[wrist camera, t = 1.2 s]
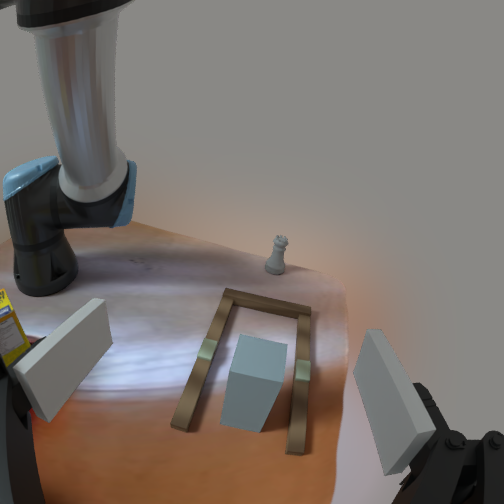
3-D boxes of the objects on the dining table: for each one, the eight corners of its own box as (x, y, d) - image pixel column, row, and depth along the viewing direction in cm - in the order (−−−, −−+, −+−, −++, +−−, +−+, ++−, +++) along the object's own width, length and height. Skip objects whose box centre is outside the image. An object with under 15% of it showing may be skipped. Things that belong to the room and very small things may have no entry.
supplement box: (27, 341, 32) (4, 286, 27) (41, 365, 29) (14, 309, 24) (1, 357, 27) (-27, 303, 22) (13, 382, 25) (-20, 328, 20)
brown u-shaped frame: (301, 455, 27) (305, 451, 26) (170, 427, 28) (169, 421, 27) (308, 314, 51) (311, 306, 50) (224, 295, 52) (225, 287, 51)
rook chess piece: (260, 266, 63) (267, 234, 59) (275, 262, 66) (283, 232, 62) (272, 277, 60) (280, 244, 56) (288, 273, 63) (296, 241, 59)
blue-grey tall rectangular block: (259, 432, 29) (283, 382, 24) (219, 423, 30) (229, 370, 24) (265, 401, 34) (287, 344, 28) (228, 393, 34) (240, 334, 28)
